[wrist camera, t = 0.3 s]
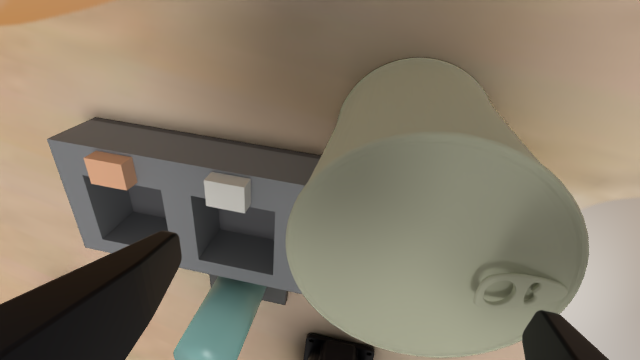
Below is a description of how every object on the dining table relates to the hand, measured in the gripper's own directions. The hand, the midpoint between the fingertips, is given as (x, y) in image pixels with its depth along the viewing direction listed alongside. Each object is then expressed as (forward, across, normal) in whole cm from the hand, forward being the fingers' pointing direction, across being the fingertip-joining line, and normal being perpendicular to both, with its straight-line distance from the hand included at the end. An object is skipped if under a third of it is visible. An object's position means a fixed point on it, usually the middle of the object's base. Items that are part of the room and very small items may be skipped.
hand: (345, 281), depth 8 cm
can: (+14, -3, +1) cm, 14 cm away
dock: (+14, +11, +8) cm, 20 cm away
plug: (+14, +8, +16) cm, 22 cm away
